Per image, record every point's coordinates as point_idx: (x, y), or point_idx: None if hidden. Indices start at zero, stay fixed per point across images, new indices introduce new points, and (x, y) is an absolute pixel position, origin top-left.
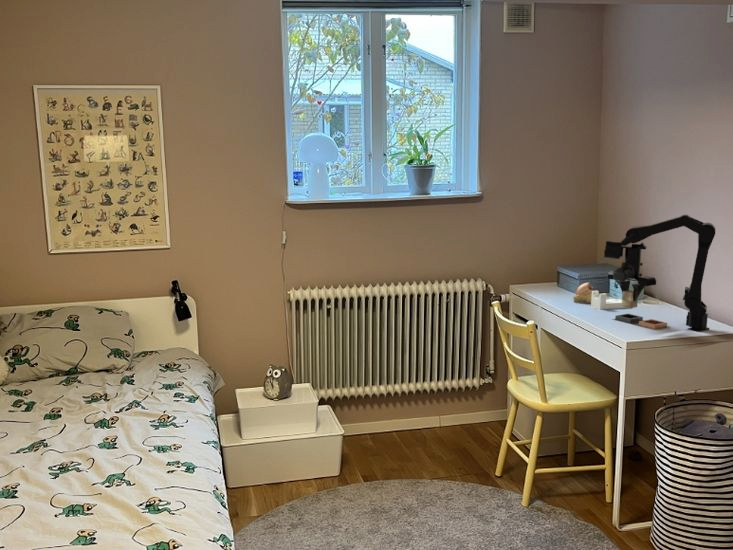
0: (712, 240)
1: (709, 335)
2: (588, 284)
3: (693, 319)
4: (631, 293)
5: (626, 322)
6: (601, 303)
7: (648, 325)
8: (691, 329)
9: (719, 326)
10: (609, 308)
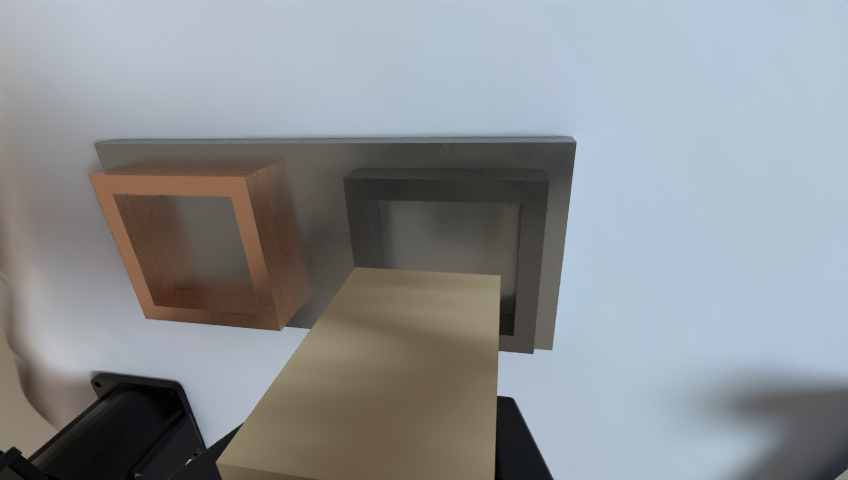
0: None
1: (27, 350)
2: None
3: (75, 434)
4: (231, 454)
5: (392, 157)
6: None
7: (159, 170)
8: (133, 378)
9: None
10: None
